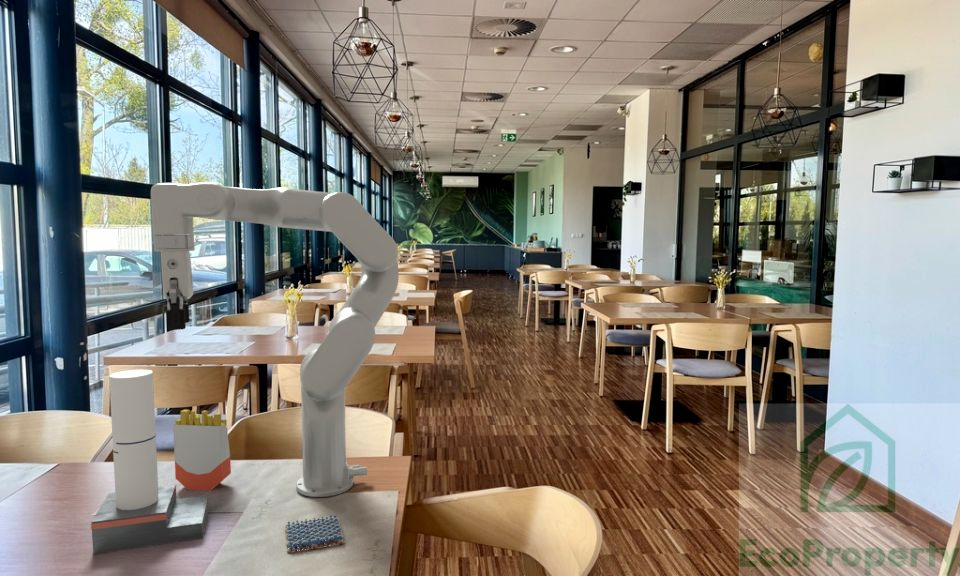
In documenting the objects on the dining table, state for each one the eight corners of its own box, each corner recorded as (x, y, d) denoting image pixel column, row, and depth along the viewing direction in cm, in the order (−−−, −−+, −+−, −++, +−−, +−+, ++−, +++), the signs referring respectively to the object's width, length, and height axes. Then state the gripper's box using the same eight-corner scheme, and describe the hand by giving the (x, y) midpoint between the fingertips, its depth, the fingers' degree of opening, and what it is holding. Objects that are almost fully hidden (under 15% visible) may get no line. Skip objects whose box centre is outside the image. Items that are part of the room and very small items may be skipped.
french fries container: (187, 481, 143) (184, 405, 141) (232, 482, 142) (229, 406, 140) (175, 489, 139) (172, 410, 137) (222, 491, 138) (219, 412, 136)
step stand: (208, 508, 129) (207, 481, 128) (202, 538, 116) (201, 508, 116) (110, 521, 123) (108, 492, 122) (92, 554, 110) (90, 522, 110)
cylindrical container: (140, 511, 114) (133, 378, 112) (106, 508, 116) (99, 377, 113) (166, 495, 121) (161, 370, 119) (135, 492, 123) (129, 368, 120)
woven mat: (338, 522, 124) (338, 512, 124) (345, 547, 114) (345, 537, 114) (284, 530, 121) (284, 520, 120) (286, 557, 111) (286, 546, 110)
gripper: (191, 244, 121) (195, 331, 122) (197, 243, 137) (201, 319, 138) (147, 245, 118) (153, 333, 120) (159, 243, 134) (164, 321, 136)
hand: (179, 326), depth 129 cm, fingers open, 9 cm apart
